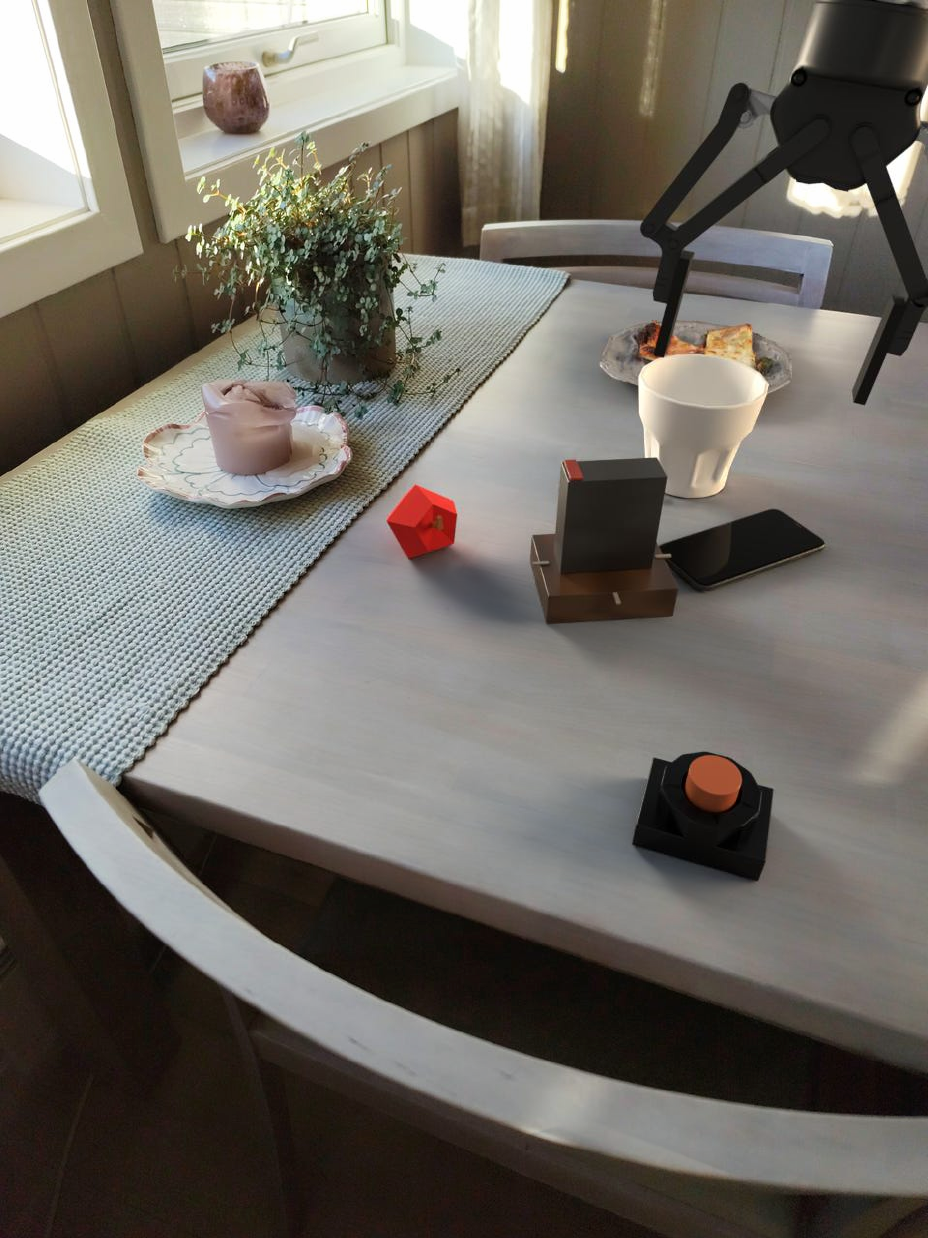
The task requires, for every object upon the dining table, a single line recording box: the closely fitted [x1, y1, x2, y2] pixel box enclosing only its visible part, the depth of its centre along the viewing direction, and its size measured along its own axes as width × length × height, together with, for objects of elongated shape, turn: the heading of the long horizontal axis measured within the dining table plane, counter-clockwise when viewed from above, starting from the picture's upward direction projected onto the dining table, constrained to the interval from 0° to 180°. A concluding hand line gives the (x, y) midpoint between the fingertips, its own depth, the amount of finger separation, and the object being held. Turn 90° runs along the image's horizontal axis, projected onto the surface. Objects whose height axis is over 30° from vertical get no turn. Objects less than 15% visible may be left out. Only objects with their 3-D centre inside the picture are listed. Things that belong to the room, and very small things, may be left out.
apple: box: [386, 484, 458, 560], centre depth 80 cm, size 7×7×8 cm
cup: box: [638, 354, 769, 499], centre depth 88 cm, size 12×12×11 cm
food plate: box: [599, 319, 793, 395], centre depth 111 cm, size 25×23×4 cm
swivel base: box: [529, 533, 679, 625], centre depth 76 cm, size 12×12×3 cm
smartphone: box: [658, 508, 827, 592], centre depth 81 cm, size 7×1×15 cm
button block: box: [631, 751, 775, 882], centre depth 56 cm, size 8×6×4 cm
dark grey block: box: [554, 457, 668, 573], centre depth 72 cm, size 8×3×9 cm, turn 96°
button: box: [685, 755, 742, 812], centre depth 54 cm, size 3×3×2 cm
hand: (757, 374), depth 60 cm, fingers open, 13 cm apart
